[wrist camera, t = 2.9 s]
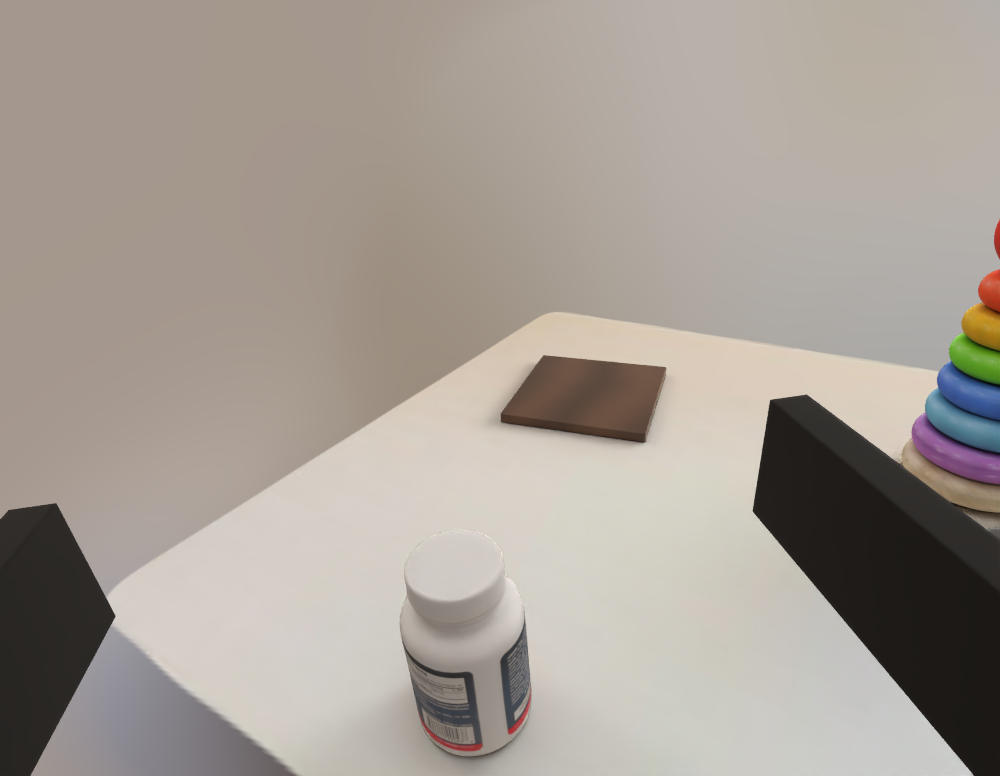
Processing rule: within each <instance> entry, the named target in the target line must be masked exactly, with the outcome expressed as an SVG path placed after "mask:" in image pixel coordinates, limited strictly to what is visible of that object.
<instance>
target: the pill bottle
mask: <svg viewBox="0 0 1000 776" xmlns="http://www.w3.org/2000/svg"><path fill="white" fill-rule="evenodd" d="M404 576H405V582H406V588H407V597H406V599H405V601H404V604H403V607H402V610H401V615H400V631H401V637H402V642H403V646H404V650H405V654H406V658H407V663H408V667H409V671H410V676H411V681H412V685H413V690H414V694H415V699H416V703H417V708H418V712H419V716H420V720H421V723H422V726H423V728H424V730H425V732H426V733H427V735H428V736H429V738H430V739H431V740H432V741H433V742H434V743H435V744H436V745H438V746H439V747H440V748H442V749H444V750H445V751H447V752H450V753H452V754H455V755H460V756H479V755H484V754H488V753H491V752H493V751H496V750H498V749H500V748H501V747H503V746H504V745H506V744H507V743H509V742H510V741H511V740H512V739H513V738H514V737H515V736H516V735H517V734H518V733H519V732H520V730H521V729H522V727H523V726H524V724H525V722H526V720H527V718H528V715H529V711H530V707H531V681H530V670H529V658H528V646H527V635H526V623H525V613H524V606H523V601H522V598H521V595H520V592H519V590H518V589H517V587H516V585H515V584H514V583H513V582H512V580H511V579H510V578H509V577H507V576H506V575H505V567H504V560H503V555H502V552H501V550H500V548H499V546H498V545H497V544H496V543H495V542H494V541H493V540H492V539H491V538H490V537H488V536H486V535H484V534H482V533H479V532H476V531H472V530H450V531H445V532H441V533H438V534H436V535H433V536H431V537H429V538H427V539H425V540H424V541H422V542H421V543H420V544H419V545H417V546H416V547H415V548H414V550H413V551H412V552H411V553H410V555H409V557H408V558H407V561H406V563H405V568H404Z"/></svg>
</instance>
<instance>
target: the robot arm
mask: <svg viewBox="0 0 1000 776" xmlns="http://www.w3.org/2000/svg"><path fill="white" fill-rule="evenodd" d="M753 512H754V514H755V515H756V516H757V517H758V518H759V519H760V521H761V522H762V523H763V524H764V525H765V527H766V528H767V529H768V530H769V531H770V533H771V534H772V535H773V536H774V537H775V539H776V540H777V541H778V542H779V543H780V545H781V546H782V547H783V548H784V549H785V551H786V552H787V553H788V554H789V555H790V556H791V558H792V559H793V560H794V561H795V562H796V564H797V565H798V566H799V567H800V568H801V570H802V571H803V572H804V573H805V574H806V576H807V577H808V578H809V579H810V580H811V582H812V583H813V584H814V585H815V586H816V588H817V589H818V590H819V591H820V592H821V593H822V595H823V596H824V597H825V598H826V599H827V601H828V602H829V603H830V604H831V605H832V607H833V608H834V609H835V610H836V611H837V613H838V614H839V615H840V616H841V617H842V619H843V620H844V621H845V622H846V623H847V625H848V626H849V627H850V628H851V629H852V630H853V632H854V633H855V634H856V635H857V636H858V638H859V639H860V640H861V641H862V642H863V644H864V645H865V646H866V647H867V648H868V650H869V651H870V652H871V653H872V654H873V656H874V657H875V658H876V659H877V660H878V662H879V663H880V664H881V665H882V666H883V667H884V669H885V670H886V671H887V672H888V673H889V675H890V676H891V677H892V678H893V679H894V681H895V682H896V683H897V684H898V685H899V687H900V688H901V689H902V690H903V691H904V693H905V694H906V695H907V696H908V697H909V699H910V700H911V701H912V702H913V703H914V704H915V706H916V707H917V708H918V709H919V710H920V712H921V713H922V714H923V715H924V716H925V718H926V719H927V720H928V721H929V722H930V724H931V725H932V726H933V727H934V728H935V730H936V731H937V732H938V733H939V734H940V736H941V737H942V738H943V739H944V740H945V741H946V743H947V744H948V745H949V746H950V747H951V749H952V750H953V751H954V752H955V753H956V755H957V756H958V757H959V758H960V759H961V761H962V762H963V763H964V764H965V765H966V767H967V768H968V769H969V770H970V771H971V772H972V774H973V775H974V776H1000V528H999V527H994V528H988V529H985V528H984V527H983V526H981V525H980V524H979V523H977V522H976V521H975V520H973V519H972V518H971V517H969V516H968V515H967V514H965V513H964V512H963V511H961V510H960V509H959V508H957V507H956V506H955V505H953V504H952V503H951V502H949V501H948V500H947V499H945V498H944V497H943V496H941V495H940V494H939V493H937V492H936V491H935V490H933V489H932V488H931V487H929V486H928V485H927V484H925V483H924V482H923V481H921V480H920V479H919V478H917V477H916V476H915V475H913V474H912V473H911V472H909V471H908V470H907V469H905V468H904V467H903V466H901V465H900V464H899V463H897V462H896V461H895V460H893V459H892V458H891V457H889V456H888V455H887V454H885V453H884V452H883V451H881V450H880V449H879V448H877V447H876V446H875V445H873V444H872V443H871V442H869V441H868V440H867V439H865V438H864V437H863V436H861V435H860V434H859V433H857V432H856V431H855V430H853V429H852V428H851V427H849V426H848V425H847V424H845V423H844V422H843V421H841V420H840V419H839V418H837V417H836V416H835V415H833V414H832V413H831V412H829V411H828V410H827V409H825V408H824V407H823V406H821V405H820V404H819V403H817V402H816V401H815V400H813V399H812V398H811V397H809V396H808V395H801V396H794V397H787V398H780V399H774V400H770V405H769V411H768V417H767V424H766V430H765V436H764V443H763V449H762V455H761V462H760V468H759V474H758V481H757V487H756V493H755V500H754V506H753ZM114 618H115V614H114V612H113V610H112V608H111V606H110V605H109V603H108V601H107V599H106V597H105V595H104V593H103V591H102V590H101V588H100V586H99V584H98V582H97V580H96V578H95V576H94V574H93V572H92V570H91V568H90V567H89V565H88V563H87V561H86V559H85V557H84V555H83V553H82V551H81V549H80V548H79V546H78V544H77V542H76V540H75V538H74V536H73V534H72V532H71V531H70V528H69V527H68V525H67V523H66V521H65V519H64V517H63V515H62V513H61V511H60V510H59V508H58V506H57V504H56V503H55V504H48V505H41V506H34V507H27V508H20V509H13V510H8V512H7V513H6V514H5V515H4V516H3V517H2V518H1V519H0V776H30V775H31V773H32V772H33V770H34V768H35V766H36V764H37V762H38V760H39V758H40V757H41V755H42V753H43V751H44V749H45V747H46V745H47V743H48V742H49V740H50V738H51V736H52V734H53V732H54V730H55V729H56V726H57V725H58V723H59V721H60V719H61V717H62V715H63V714H64V712H65V710H66V708H67V706H68V704H69V702H70V700H71V699H72V697H73V695H74V693H75V691H76V689H77V687H78V686H79V684H80V682H81V680H82V678H83V676H84V674H85V672H86V671H87V669H88V667H89V665H90V663H91V661H92V659H93V658H94V656H95V654H96V652H97V650H98V648H99V646H100V644H101V643H102V640H103V639H104V637H105V635H106V633H107V631H108V629H109V628H110V626H111V624H112V622H113V620H114Z"/></svg>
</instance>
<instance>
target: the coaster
mask: <svg viewBox="0 0 1000 776" xmlns="http://www.w3.org/2000/svg"><path fill="white" fill-rule="evenodd" d="M665 375H666V367H658V366H647V365H637V364H627V363H617V362H607V361H596V360H586V359H576V358H566V357H555V356H545V355H543V357H542V358H541V359H540V361H539V362H538V364H537V365H536V366H535V368H534V369H533V370H532V372H531V373H530V374H529V376H528V377H527V379H526V380H525V381H524V383H523V384H522V385H521V387H520V388H519V389H518V391H517V392H516V394H515V395H514V396H513V398H512V399H511V400H510V402H509V403H508V404H507V406H506V407H505V409H504V410H503V411H502V413H501V422H507V423H514V424H521V425H528V426H535V427H542V428H549V429H556V430H563V431H570V432H577V433H584V434H591V435H598V436H605V437H612V438H619V439H626V440H633V441H640V442H645V441H646V438H647V434H648V431H649V428H650V425H651V421H652V418H653V415H654V411H655V408H656V405H657V402H658V398H659V395H660V392H661V388H662V385H663V382H664V379H665Z"/></svg>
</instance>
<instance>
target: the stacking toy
mask: <svg viewBox="0 0 1000 776" xmlns="http://www.w3.org/2000/svg"><path fill="white" fill-rule="evenodd" d="M994 245H995V250H996V253H997V255H998V257H999V259H1000V220H999V222H998V224H997V227H996V230H995V235H994ZM978 293H979V297H980V299H981V300H982V302H983V303H980V304H977V305H975V306H973V307H972V308H970V309H969V310H968V311H967V312H966V313H965V314H964V316H963V318H962V329H963V331H964V333H962V334H960V335H959V336H957V337H956V338H955V339H954V340H953V342H952V343H951V345H950V348H949V355H950V358H951V361H950V362H948V363H947V364H946V365H944V366H943V368H942V369H941V370H940V372H939V374H938V377H937V384H938V388H937V389H935V390H934V391H933V392H932V393H931V394H930V395H929V396H928V398H927V400H926V404H925V411H926V412H925V413H924V414H922V415H921V416H919V417H918V418H917V419H916V421H915V423H914V424H913V427H912V438H911V439H910V440H909V441H908V442H907V443H906V444H905V446H904V448H903V451H902V463H903V466H904V468H905V469H907V470H908V471H909V472H911V473H912V474H913V475H915V476H916V477H917V478H919V479H920V480H921V481H923V482H924V483H925V484H927V485H928V486H929V487H931V488H932V489H933V490H935V491H936V492H937V493H939V494H940V495H941V496H943V497H944V498H945V499H947V500H948V501H950V502H952V503H955V504H958V505H961V506H964V507H968V508H972V509H976V510H982V511H988V512H998V513H1000V269H999V270H996V271H993V272H991V273H990V274H988V275H987V276H986V277H985V278H984V279H983V280H982V281H981V283H980V285H979V288H978Z"/></svg>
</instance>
